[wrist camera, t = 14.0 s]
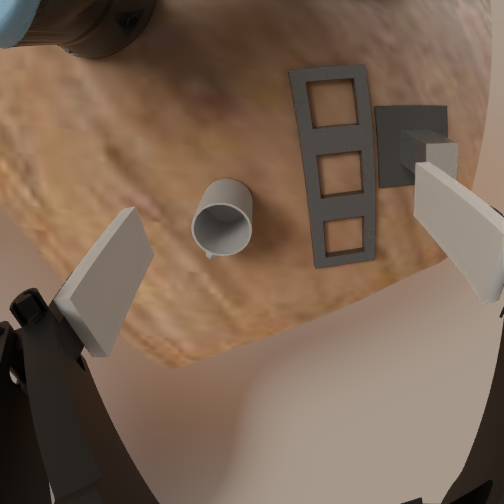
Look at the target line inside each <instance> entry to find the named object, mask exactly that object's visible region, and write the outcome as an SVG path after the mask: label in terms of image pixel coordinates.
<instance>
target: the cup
mask: <svg viewBox="0 0 504 504" xmlns="http://www.w3.org/2000/svg"><path fill="white" fill-rule="evenodd" d="M252 213H253V200H252V196H251V193H250V191H249V190H248V188H247V187H246V186H245V185H244V184H243V183H241V182H239V181H237V180H234V179H229V178H228V179H220V180H217V181H215V182H213V183H212V184H210V185H209V186H208V188H207V189H206V190H205V192H204V194H203V196H202V199H201V201H200V203H199V206H198V208H197V211H196V213H195V216H194V218H193V221H192V227H191V229H192V235H193V237H194V240H195V242H196V243H197V244H198V245H199V247H201V248H202V249H203V250H205V251H206V257H208V258H209V259H215V257H216V256H217V255H218V256H229V255H233V254H236V253H238V252H240V251H241V250H242V249H243V248H245V247H246V246H247V244H248V242H249V241H250V238H251V234H252Z"/></svg>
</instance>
